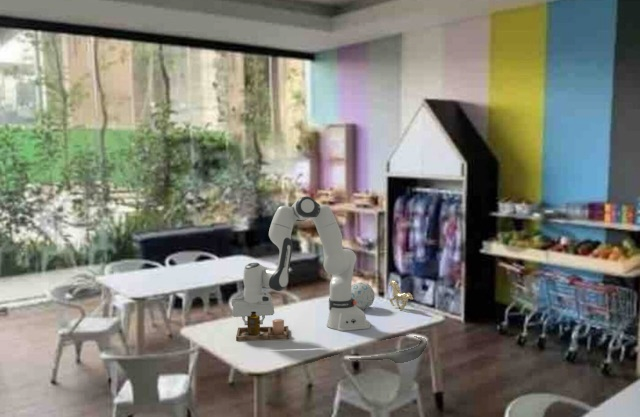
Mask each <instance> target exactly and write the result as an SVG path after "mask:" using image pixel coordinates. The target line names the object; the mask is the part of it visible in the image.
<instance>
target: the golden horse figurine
mask: <svg viewBox="0 0 640 417" xmlns="http://www.w3.org/2000/svg"><path fill="white" fill-rule="evenodd" d="M388 286H389V287H390V286H391V287H392V296H393V297H391V298H390V299H389V302H390V304H391V305H392V306H393V307H395V306H397V307H398V308H399V311H403V310H404V309H405V307H406V306H407V305H408V301H409V300H414V297H413V295H412V294H411V293H410V292H407V293H406V292H401V287H400V285H399V282H396V281H395V279H392V277H390V282H389V283H388ZM393 301H396V304H395V303H394V302H393ZM399 301H401V303H402V305H400V303H399Z"/></svg>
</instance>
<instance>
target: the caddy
mask: <svg viewBox="0 0 640 417" xmlns="http://www.w3.org/2000/svg"><path fill="white" fill-rule="evenodd" d="M289 330H290V329H289V325H284V335H273V326H260V332H264V333H262V334H260V335H258V336H243V335H242V334H245V333H247V332H248V326H247V327H244V326H243V327H237V330H236V331H237V332H236V336H235V341H237V342H242V341H247V342H248V341H272V340H274V341H277V340H278V341H279V340H281V341H282V340H289V339H290V332H289Z"/></svg>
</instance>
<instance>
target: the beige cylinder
mask: <svg viewBox="0 0 640 417" xmlns="http://www.w3.org/2000/svg"><path fill="white" fill-rule="evenodd" d="M271 322H272V327H273V335H284V326H285V320H284V319H282V318H275V319H273V320H272V321H271Z"/></svg>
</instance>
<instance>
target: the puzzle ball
mask: <svg viewBox="0 0 640 417" xmlns="http://www.w3.org/2000/svg"><path fill="white" fill-rule="evenodd" d="M351 298H353V299H354V300H355V301H356V302H357V304H356V305H355V306H356V307H358V308H359V309H361V310H365V309H368V308H369V307H371V306H372V305H373V303H374V300H375V291H374V289H373V287H371V285H369V284H368V283H365V282H357V283H354V284H353V285H351Z"/></svg>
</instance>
